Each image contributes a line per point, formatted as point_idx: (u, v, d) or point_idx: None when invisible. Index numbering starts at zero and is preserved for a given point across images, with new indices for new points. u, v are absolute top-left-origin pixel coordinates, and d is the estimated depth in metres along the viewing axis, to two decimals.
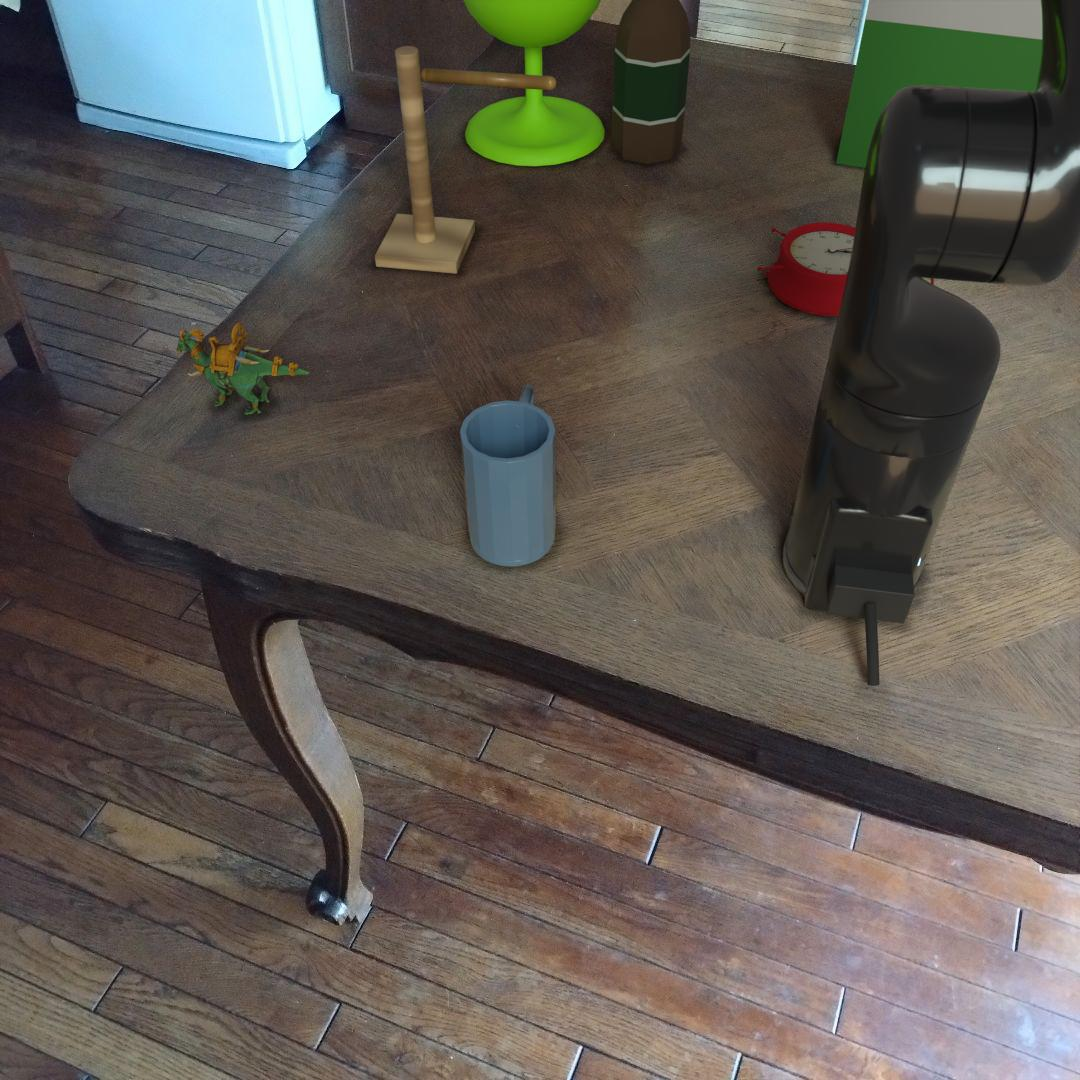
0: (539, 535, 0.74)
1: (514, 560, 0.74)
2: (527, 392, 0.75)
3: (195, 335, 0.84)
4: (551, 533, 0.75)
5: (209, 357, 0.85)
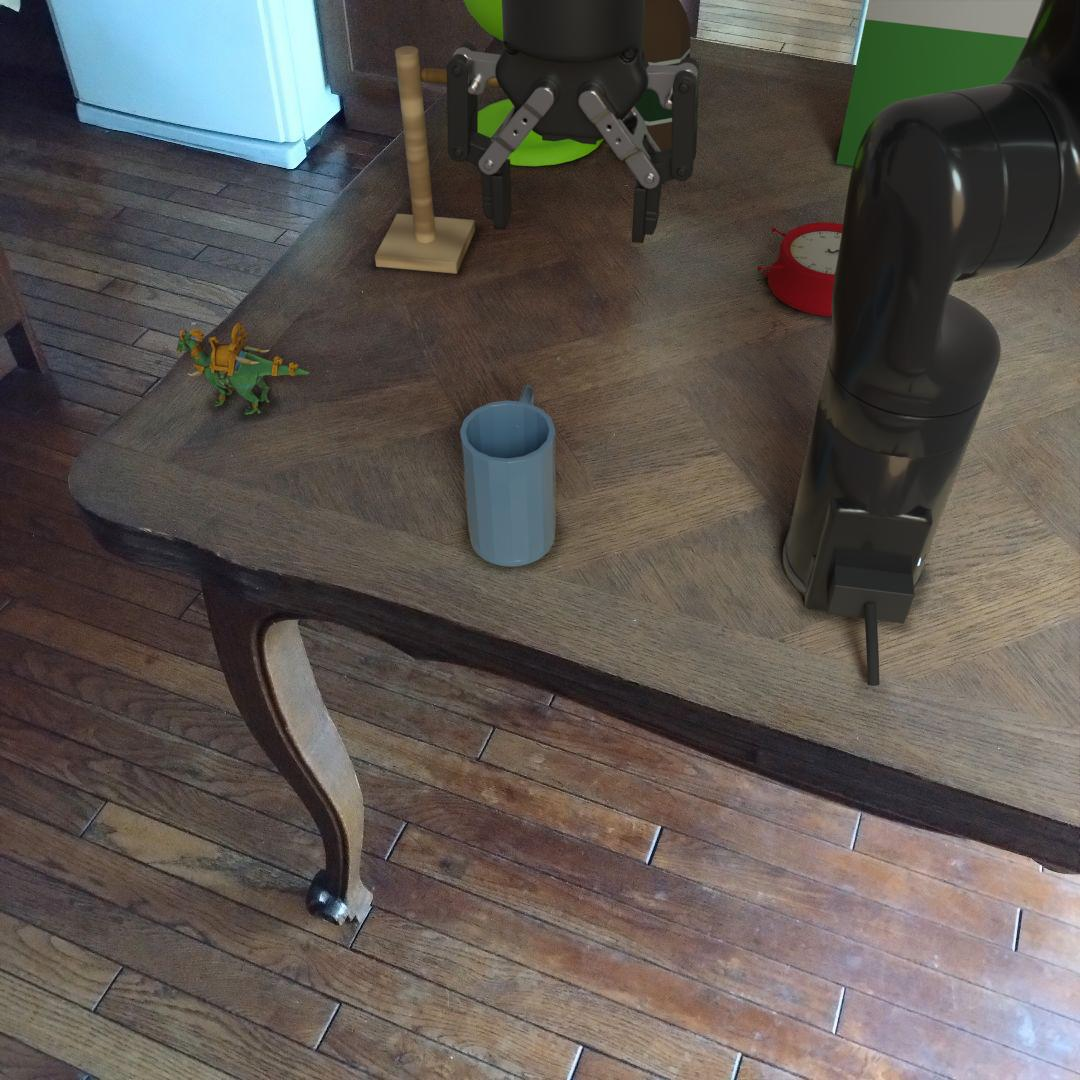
0: (539, 535, 0.74)
1: (514, 560, 0.74)
2: (527, 392, 0.75)
3: (195, 335, 0.84)
4: (551, 533, 0.75)
5: (209, 357, 0.85)
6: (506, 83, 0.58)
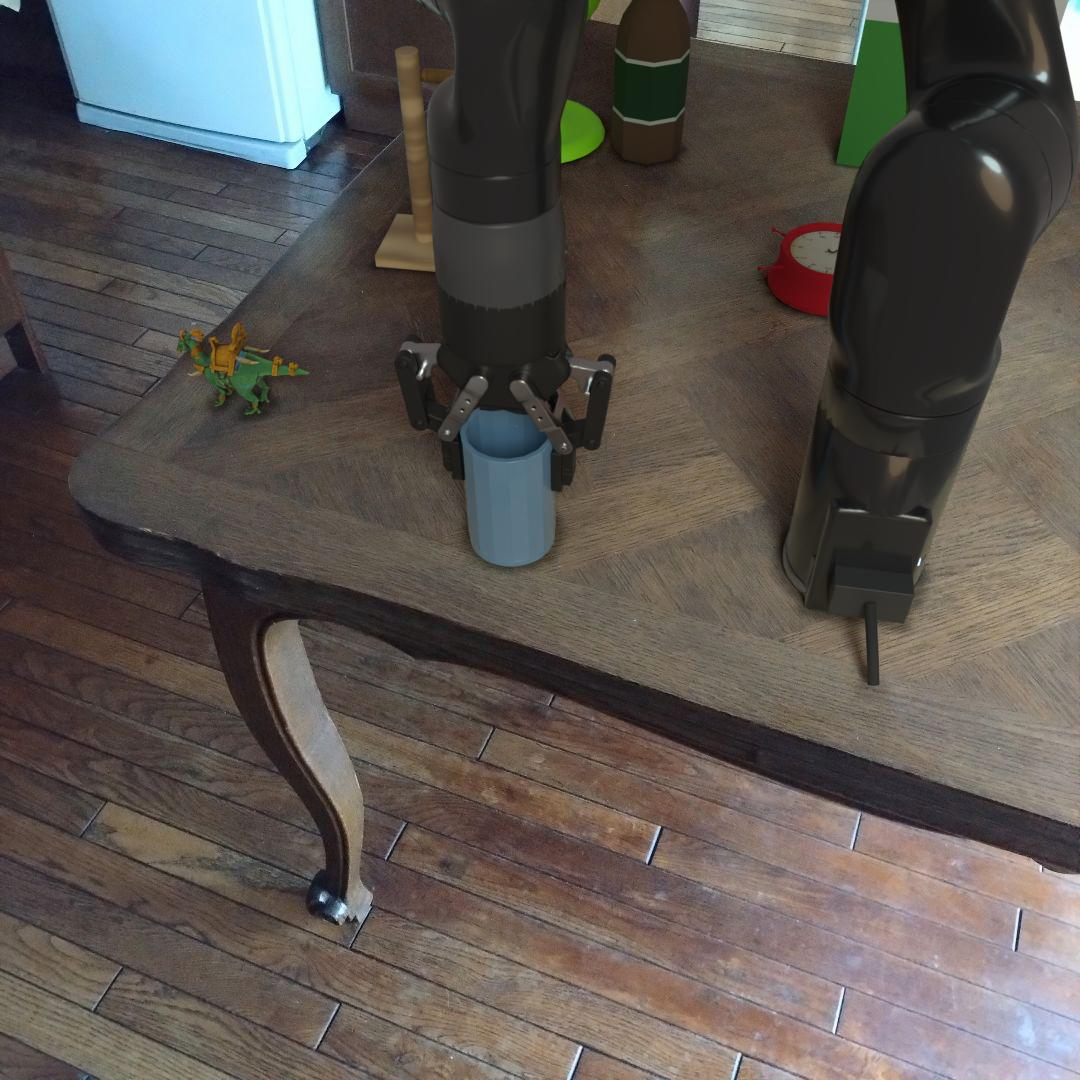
0: (539, 535, 0.74)
1: (514, 560, 0.74)
2: None
3: (195, 335, 0.84)
4: (551, 533, 0.75)
5: (209, 357, 0.85)
6: (446, 368, 0.66)
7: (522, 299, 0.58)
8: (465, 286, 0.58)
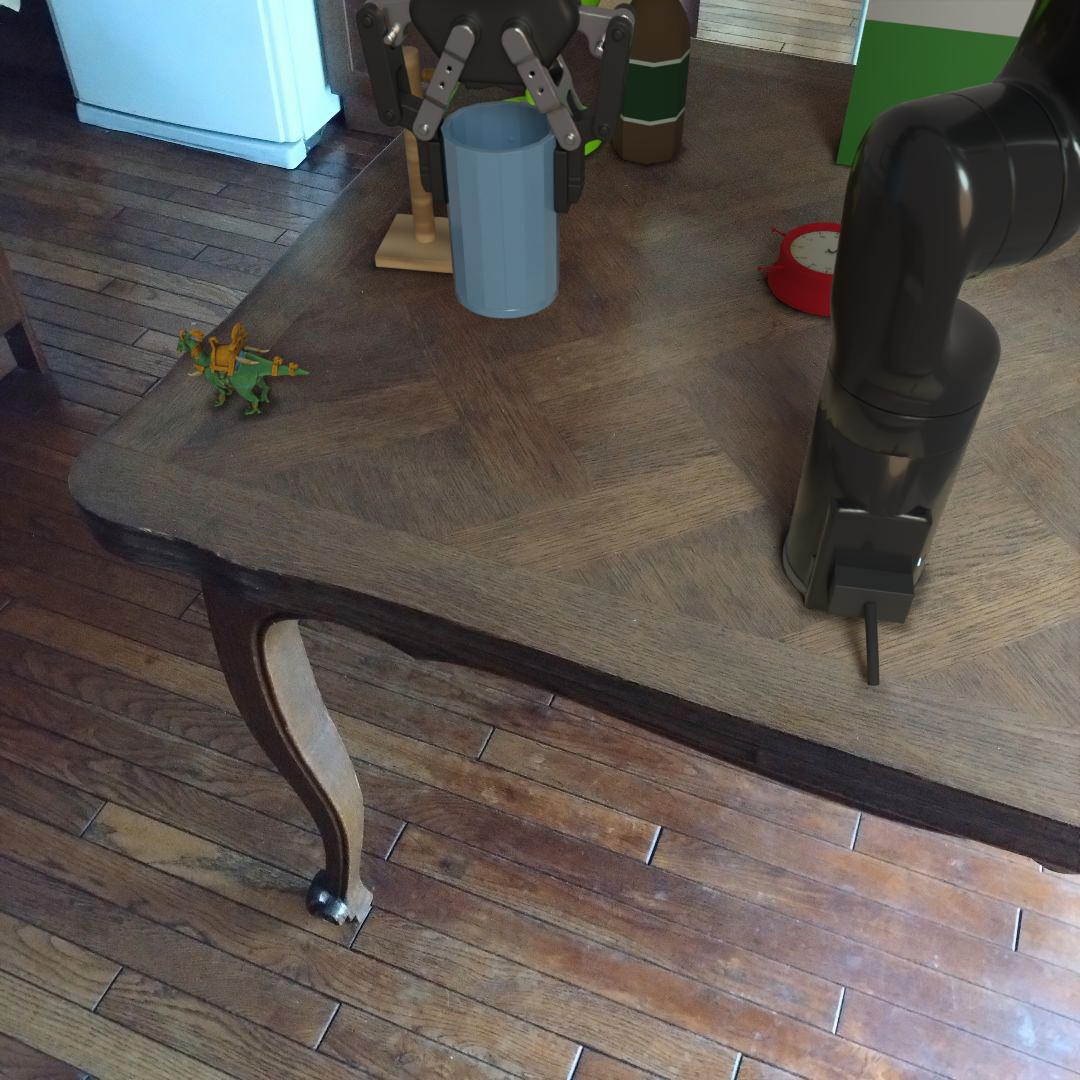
0: (540, 274, 0.60)
1: (509, 308, 0.61)
2: None
3: (195, 335, 0.84)
4: (554, 278, 0.61)
5: (209, 357, 0.85)
6: (421, 23, 0.52)
7: None
8: None
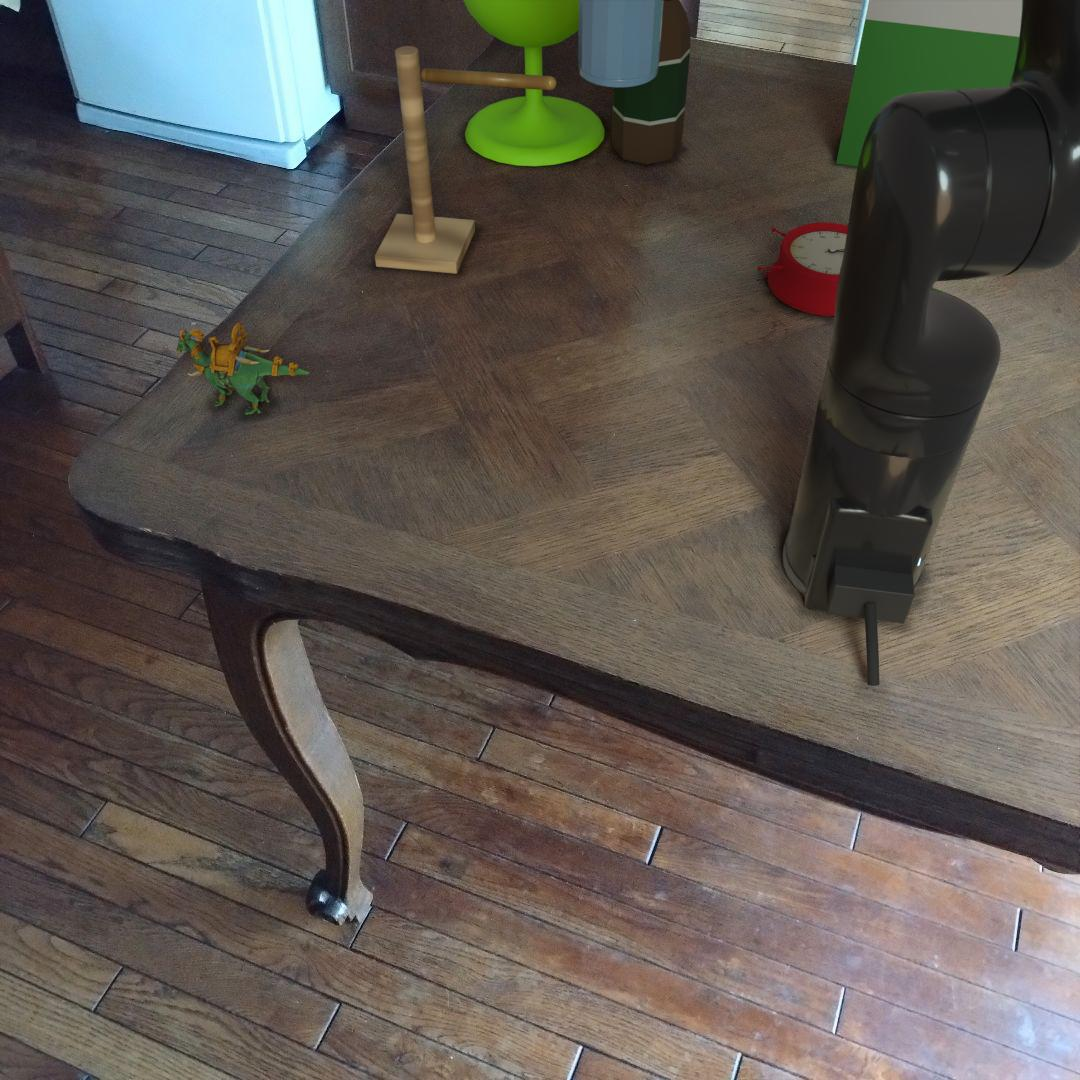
0: (648, 50, 0.79)
1: (623, 78, 0.80)
2: None
3: (195, 335, 0.84)
4: (657, 57, 0.81)
5: (209, 357, 0.85)
6: None
7: None
8: None
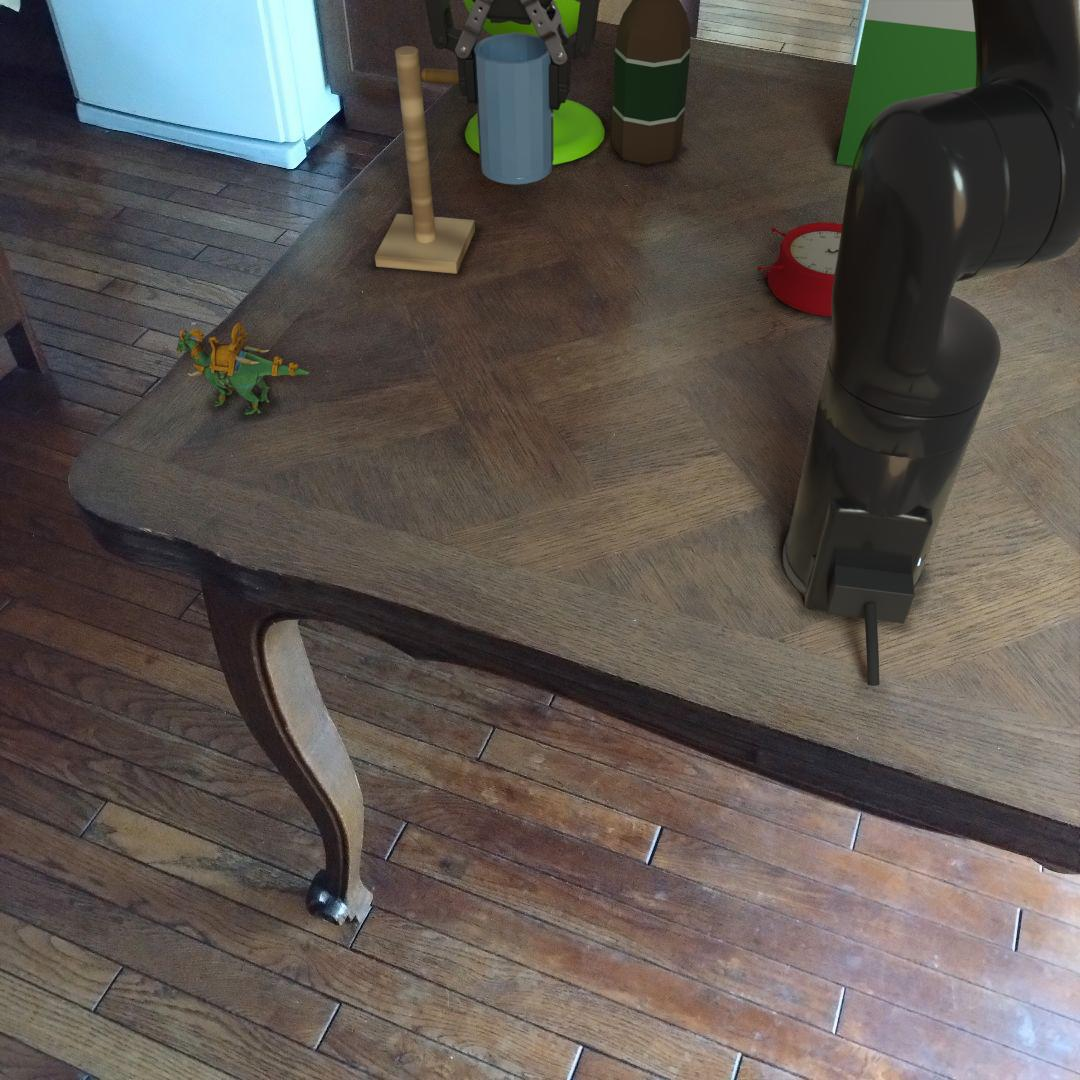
0: (539, 152, 0.88)
1: (518, 177, 0.89)
2: None
3: (195, 335, 0.84)
4: (549, 157, 0.89)
5: (209, 357, 0.85)
6: None
7: None
8: None
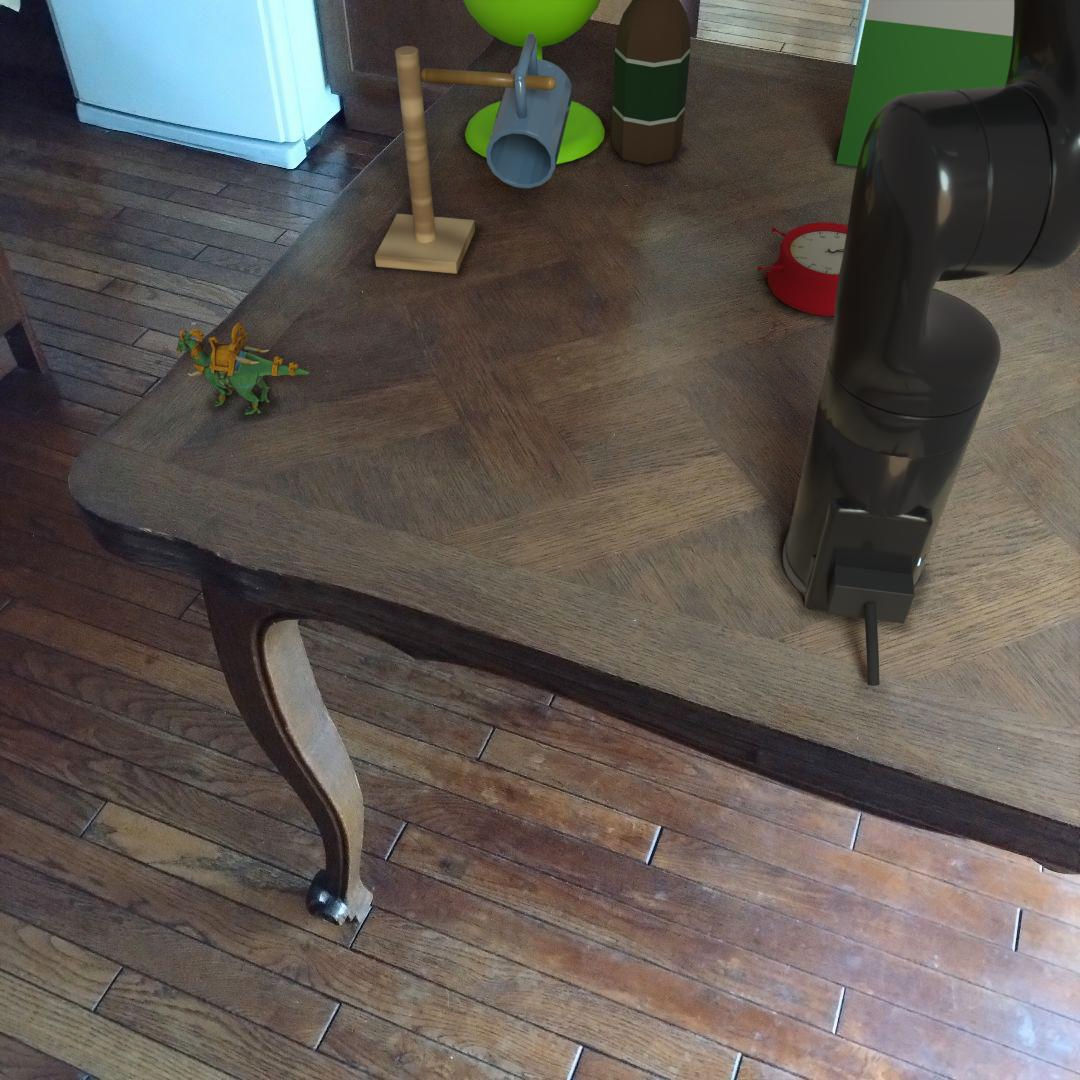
0: None
1: None
2: (520, 88, 0.89)
3: (195, 335, 0.84)
4: (569, 108, 0.98)
5: (209, 357, 0.85)
6: None
7: None
8: None
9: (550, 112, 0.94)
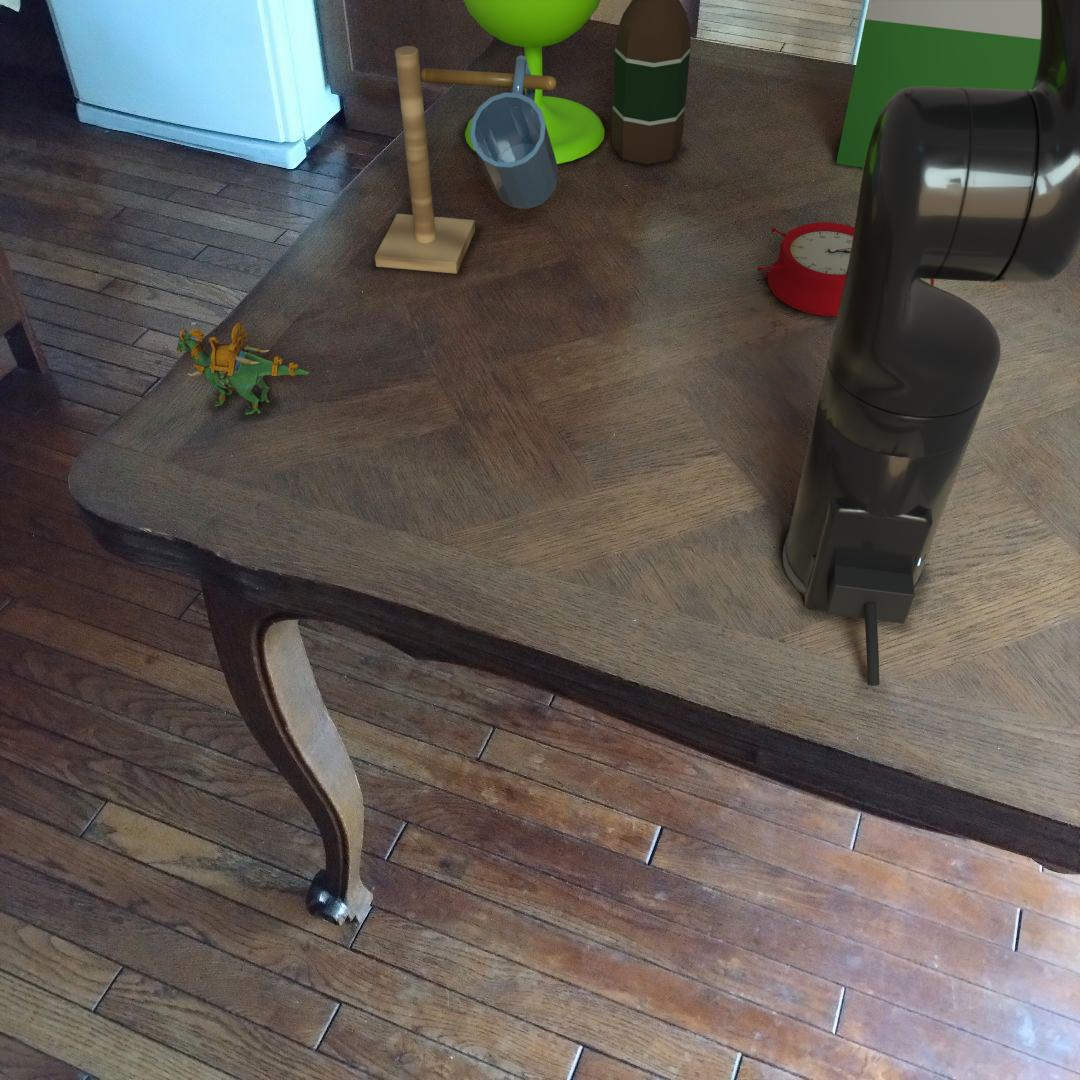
0: (544, 189, 0.94)
1: (528, 206, 0.96)
2: (521, 66, 0.89)
3: (195, 335, 0.84)
4: (554, 180, 0.95)
5: (209, 357, 0.85)
6: None
7: None
8: None
9: None
